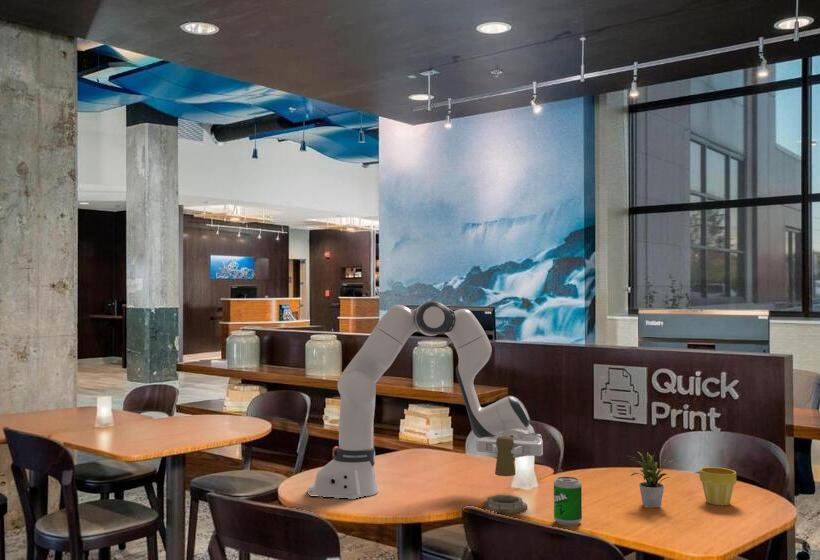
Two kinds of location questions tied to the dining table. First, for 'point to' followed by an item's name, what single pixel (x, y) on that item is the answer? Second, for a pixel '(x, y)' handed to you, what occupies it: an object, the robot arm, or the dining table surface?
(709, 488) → the plant pot
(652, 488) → the house plant
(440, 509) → the dining table surface
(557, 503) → the soda can
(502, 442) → the cork
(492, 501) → the grey octagonal ring
